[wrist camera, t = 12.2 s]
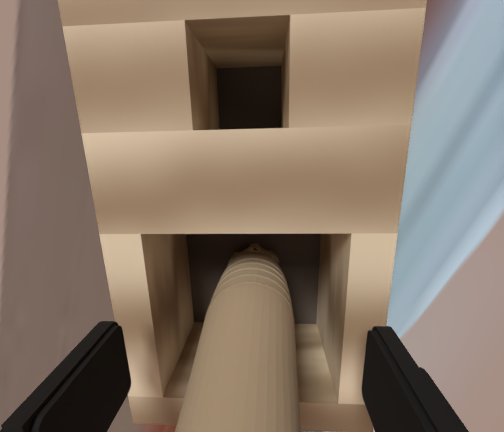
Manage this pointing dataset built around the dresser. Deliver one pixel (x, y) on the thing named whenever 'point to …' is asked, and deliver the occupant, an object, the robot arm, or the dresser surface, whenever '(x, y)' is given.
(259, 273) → the handle
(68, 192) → the dresser surface
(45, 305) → the dresser surface
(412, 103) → the socket block
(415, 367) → the robot arm
